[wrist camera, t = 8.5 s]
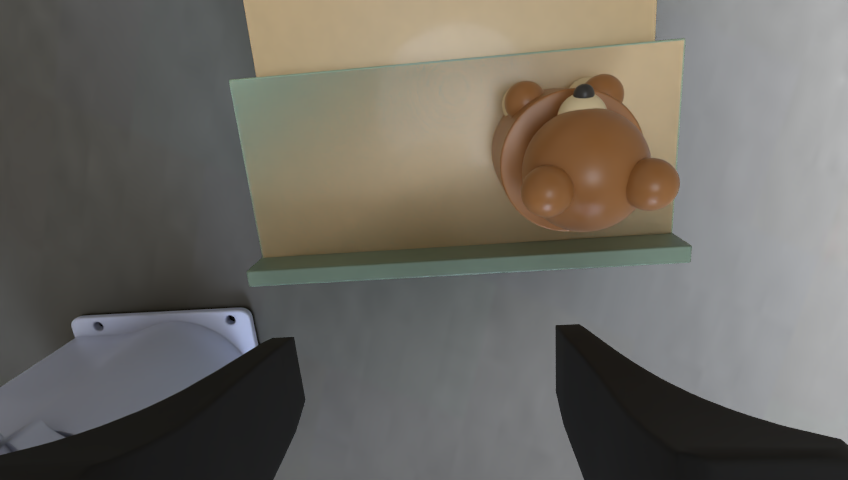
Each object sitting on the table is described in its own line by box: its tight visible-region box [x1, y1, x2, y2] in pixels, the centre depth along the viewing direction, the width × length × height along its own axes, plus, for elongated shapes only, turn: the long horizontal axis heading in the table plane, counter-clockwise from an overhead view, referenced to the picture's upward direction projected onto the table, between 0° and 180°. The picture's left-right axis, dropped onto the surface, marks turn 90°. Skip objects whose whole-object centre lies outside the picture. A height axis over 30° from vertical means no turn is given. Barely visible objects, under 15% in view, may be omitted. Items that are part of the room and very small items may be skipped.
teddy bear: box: [492, 74, 680, 232], centre depth 13 cm, size 4×4×6 cm
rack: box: [229, 0, 692, 287], centre depth 18 cm, size 15×14×6 cm
